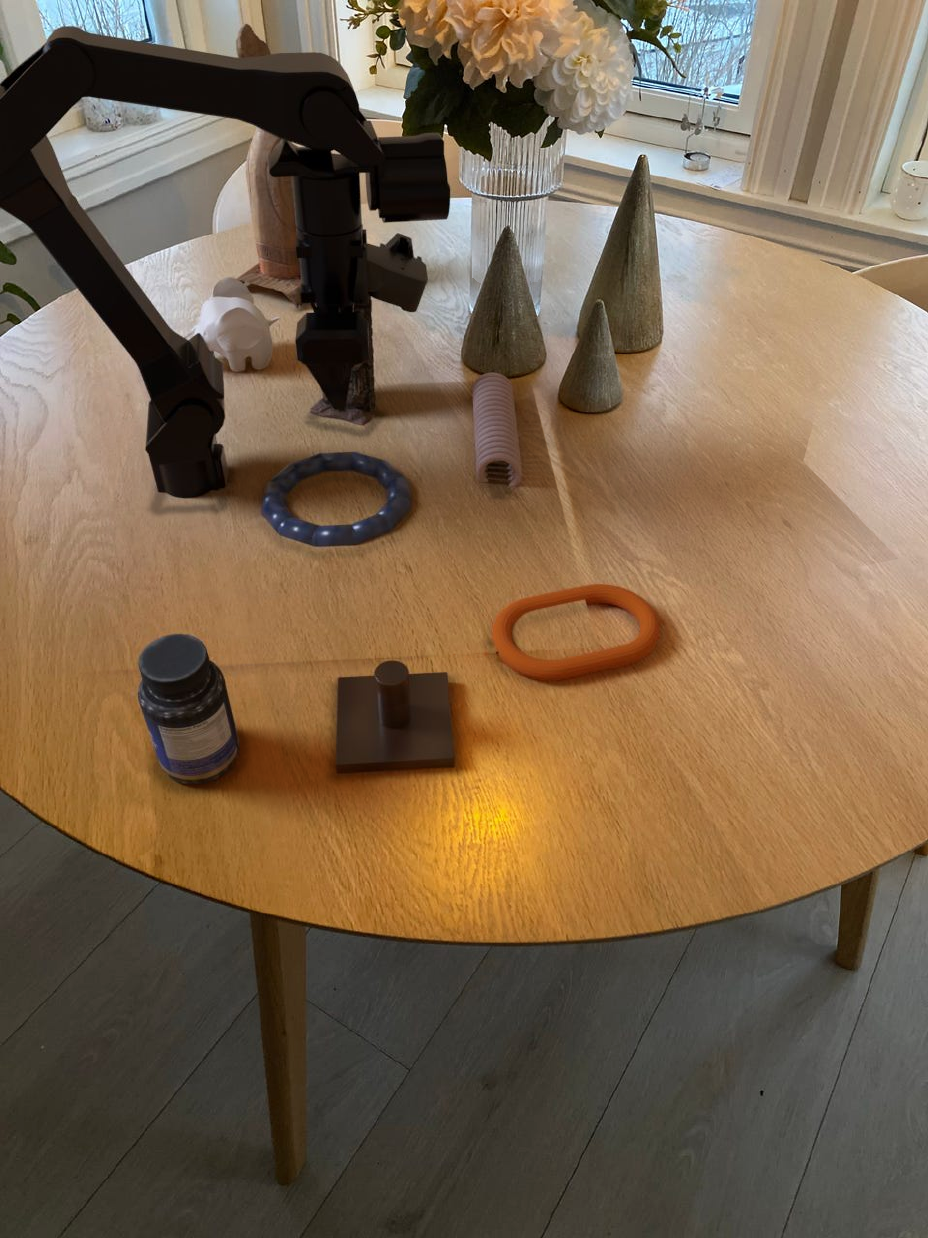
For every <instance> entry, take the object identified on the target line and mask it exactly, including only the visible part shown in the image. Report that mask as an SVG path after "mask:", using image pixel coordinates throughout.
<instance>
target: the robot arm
mask: <svg viewBox="0 0 928 1238" xmlns="http://www.w3.org/2000/svg"><path fill="white" fill-rule="evenodd" d="M83 98H93V99H99V100H105V101H106V100H107V101H112V102H113V101H115V102H120V103H127V104H133V105H140V106H147V107H153V108H160V109H166V110H173V111H178V112H179V111H180V112H186V113H191V114H199V115H206V116H210V117H211V116H212V117H218V118H227V119H232V120H237V121H239V122H240V121H241V122H244V123H247V124H250V125H253V126H254V127H256V128H257V127H258V128H260V129H262V130H264V131H266V132H268V133H270V134H272V135H274V136H276V137H278V138H281V142H280V144H279V146H278V147H277V148H276V149H275V150H274V151H273V152H272V153H271V154H270V155H268V157H267V161H268V168H269V173H270V175H271V176H272V177H290V176H291V177H292V187H293V198H294V208H295V219H296V229H297V241H296V254H297V258H299V261H300V271H301V281H302V283H301V290H300V295H301V303H303V304H310V307H311V309H312V312H305V314H304V315H302V316H301V318H300V319H299V320H297V322H296V329H295V330H296V331H295V339H294V340H295V341H294V343H295V351H296V360H297V361H298V362H300V363H301V364H302V365H304V366H305V367H306V368H307V369H308V371H309V372H310V374H311V375H312V377H313V378H314V380H315V382H316V383H317V384H318V386H319V388H320V390H321V389H322V391H323V392H324V394H325V396H326V397H327V399H328V400H329V402H330V404H331V405H332V407H333V409H335V410H344V409H345V408H346V403H347V397H348V391H349V385H350V379H351V373H352V369H353V367H354V366H356V365H357V364H362V363H364V362H365V361H367V360H369V330H368V321H367V320H366V319H364V318H363V317H362V316H361V315H360V314H359V313H358V312H354V309H355V308H356V307H357V306H358V305H369V297H368V294H369V295H370V296H371V298H373V299H375V300H377V301H381V302H384V303H387V304H390V305H393V306H395V307H399V308H401V310H402V311H405V312H408V313H416V312H417V311H418V308H419V305H420V303H421V299H422V297H423V295H424V292H425V289H426V286H427V283H428V280H429V278H428V277H429V276H428V269H427V268H428V267H427V264H426V263H425V262H424V261H423V257H421V256H419V255H417V257H415V255H414V246H413V240H412V237H410V236H407V235H405V234H401V233H399V232H398V233H396V234H394V236H392V237H391V238H390V239H389V240H388V241H387V242H386V244H385V243H383V242H381V243H379V245H375V244H371V243H368V236H367V235H368V234H367V229H364V225H363V217H362V195H361V194H362V193H361V178H360V176H361V175H360V174H364V175H365V190H366V191H365V192H366V200H367V206H368V210H369V211H370V212H376V211H377V213H378V218H379V219H381V221H382V223H383V224H386V223H403V222H406V223H407V222H424V221H427V222H428V221H443V220H448V218H449V215H450V209H451V185H450V183H449V182H448V181H449V180H448V169H447V161H446V156H445V140H444V139H443V137H442V136H441V134H440V132H424V133H420V134H417V135H405V136H403V135H402V136H380V137H379V136H378V135H377V132H376V130H375V128H374V125H373V122H372V121H371V120H368V119H367V118H366V117H365V115H364V114H363V112H362V111H361V110H360V104H359V100H358V97H357V94H356V91H355V89H354V86H353V84H352V82H351V79H350V77H349V74H348V73H347V71H346V70H345V69H344V67H343V65H342V64H341V63H340V62H339V61H338V60H337V59H336V58H334V57H333V56H331V55H328V54H326V53H323V52H317V51H316V52H315V51H314V52H313V51H311V52H310V51H309V52H277V53H271V55H265V56H259V57H251V58H238V57H235V56H229V55H223V54H217V53H212V52H206V51H200V50H194V49H187V48H183V47H182V48H181V47H176V46H171V45H165V44H158V43H153V42H147V41H142V40H141V41H140V40H134V39H130V38H123V37H117V36H112V35H105V34H99V33H93V32H88V31H86V30H84V29H82V28H80V27H77V26H74V25H66V26H65V25H62V26H61V27H58V28H55V29H54V30H53V31H52V32H51V34H50V35H49V36H48V38H47V40H46V42H45V43H44V44H42V46H40V47H39V48H38V49H37V50H35V52H33V53H32V54H31V55H30V56H28V57H27V58H26V59H25V60H24V61H22V62H21V63H20V64H19V65H18V66H16V67H15V68H14V69H13V70H12V71H11V72H10V73H9V74H8V75H7V76H6V77H5V78H4V79H3V80H1V82H0V209H1V210H3V211H4V212H5V213H7V214H9V215H11V216H12V217H14V218H15V219H17V220H19V221H20V222H22V223H23V224H24V225H25V226H26V227H28V229H30V230H31V232H33V234H34V235H35V237H36V238H37V239H38V240H39V241H40V243H41V244H42V245H43V247H44V248H45V249H46V251H47V252H48V253H49V255H50V256H51V257H52V258H53V259H54V261H55V262H56V263H57V264H58V266H59V267H60V268H61V270H62V271H63V272H64V274H65V275H66V276H67V277H68V278H69V280H70V281H71V282H72V284H73V285H74V286H75V287H76V288H77V290H78V291H79V293H80V294H81V295H82V296H83V297H84V299H85V300H86V301H87V303H88V304H89V306H91V308H93V310H94V311H95V313H96V315H98V317H99V318H100V319H101V320H102V322H103V323H104V324H105V325H106V327H107V328H108V330H109V331H110V332H111V333H112V335H113V336H114V337H115V339H116V340H117V342H119V343H120V345H121V346H122V347H123V348H124V350H125V351H126V352H127V354H128V355H129V356H130V357H131V359H132V361H134V363H135V365H136V366H137V368H138V370H139V373H140V376H141V378H142V381H143V384H144V386H145V388H146V391H147V394H148V397H149V399H150V400H149V401H148V404H147V405H148V406H147V419H146V420H147V421H146V433H145V452H146V453H147V454H148V458H149V462H150V466H151V471H152V474H153V478H154V483H155V486H156V490H157V492H158V493H166V494H167V495H168V496H171V497H174V498H178V499H193V498H199V497H201V496H204V495H206V494H209V493H210V492H214V491H219V490H221V489H226V488H227V486H228V479H229V475H230V474H229V468H228V463H227V462H228V461H227V458H226V457H227V456H226V452H225V445H224V444H222V443H218V440H217V434H218V433H219V432H220V431H221V429H222V428H223V426H224V423H225V419H226V404H225V403H226V402H225V382H224V363H223V361H222V360H220V359H218V358H217V357H216V356H215V357H214V355H215V354H214V355H213V354H212V353H211V352H210V351H209V349H208V347H207V345H206V343H205V341H204V339H203V337H202V335H201V334H200V333H197V334H196V335H195V336H194V335H193V336H191V337H190V338H187V339H185V338H184V337H185V336H184V337H183V336H182V335H180V334H179V333H177V331H175V330H173V329H172V328H171V327H170V325H169V324H168V323H167V322H166V320H165V319H164V318H163V316H162V315H161V314H160V312H159V311H158V309H157V308H156V307H155V305H154V304H153V303H152V301H151V300H150V299H149V297H148V296H147V294H146V293H145V292H144V290H143V289H142V288H141V286H140V284H139V283H138V282H137V280H136V279H135V278H134V276H133V275H132V274H131V272H130V271H129V270H128V269H127V267H126V266H125V264H124V263H123V261H122V260H121V259H120V257H119V256H118V255H117V253H116V251H114V249H113V248H112V246H111V245H110V243H109V242H108V241H107V240H106V238H105V237H104V235H103V234H102V233H101V231H100V230H99V229H98V228H97V226H96V225H95V223H94V222H93V220H92V219H91V218H90V216H89V215H88V214H87V212H86V211H85V209H84V208H83V207H82V206H81V204H80V203H79V201H78V200H77V199H76V197H75V196H74V195H73V193H72V191H71V189H70V187H69V185H68V183H67V180H66V177H65V175H64V172H63V170H62V167H61V165H60V162H59V159H58V157H57V153H56V152H55V149H54V146H53V145H52V143H51V141H50V139H49V137H48V134H49V133H50V132H51V131H52V129H54V127H55V126H56V125H57V124H58V123H59V122H60V121H61V120H62V119H63V118H64V116H66V115H67V113H68V112H70V110H71V109H72V108H73V107H74V106H75V105H76V104H78V102H80V100H82V99H83ZM297 145H299V146H297ZM333 151H335V152H336V153H333ZM322 391H321V392H322Z"/></svg>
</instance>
